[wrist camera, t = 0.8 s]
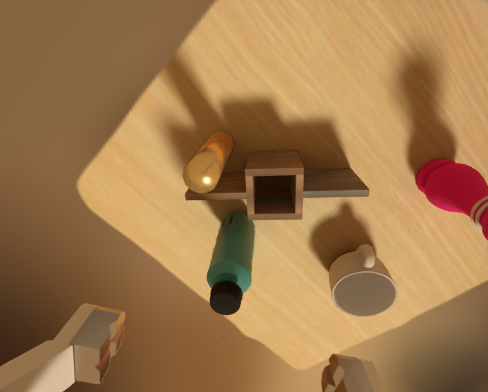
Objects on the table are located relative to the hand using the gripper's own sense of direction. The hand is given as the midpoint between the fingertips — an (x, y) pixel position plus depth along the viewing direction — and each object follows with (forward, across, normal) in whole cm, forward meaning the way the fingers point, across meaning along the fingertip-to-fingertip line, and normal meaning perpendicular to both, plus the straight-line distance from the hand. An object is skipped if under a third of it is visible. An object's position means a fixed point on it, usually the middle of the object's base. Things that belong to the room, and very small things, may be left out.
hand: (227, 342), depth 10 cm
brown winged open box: (+37, -5, +5) cm, 38 cm away
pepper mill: (+37, -31, -1) cm, 48 cm away
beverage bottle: (+38, -1, +16) cm, 41 cm away
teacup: (+38, -25, +18) cm, 48 cm away
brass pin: (+37, +5, +2) cm, 38 cm away
